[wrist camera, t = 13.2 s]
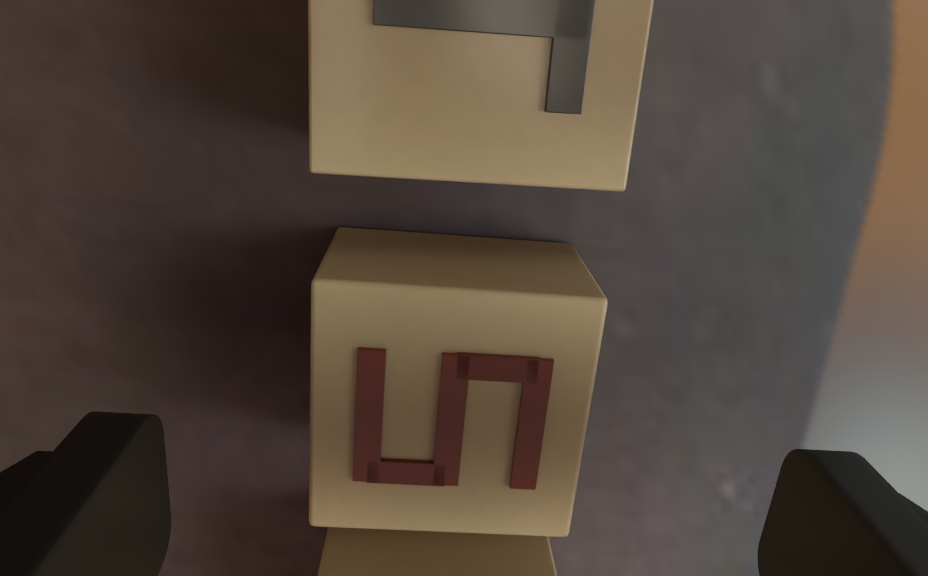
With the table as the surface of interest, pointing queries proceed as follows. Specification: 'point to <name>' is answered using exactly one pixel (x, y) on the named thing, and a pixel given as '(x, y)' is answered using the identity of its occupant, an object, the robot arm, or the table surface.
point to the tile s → (450, 382)
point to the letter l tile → (433, 554)
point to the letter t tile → (477, 89)
